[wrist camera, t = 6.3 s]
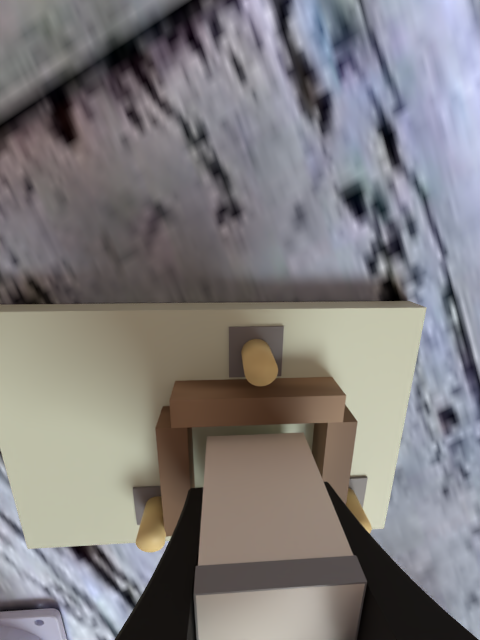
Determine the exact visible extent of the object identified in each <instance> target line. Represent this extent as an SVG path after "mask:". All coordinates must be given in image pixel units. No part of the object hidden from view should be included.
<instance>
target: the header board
mask: <svg viewBox="0 0 480 640" xmlns="http://www.w3.org/2000/svg"><path fill="white" fill-rule="evenodd" d="M425 313H426V307H424V306H421V305H418V304H416V303H413V302H410V301H347V302H234V303H120V304H7V305H0V449H1V453H2V456H3V460H4V464H5V467H6V471H7V475H8V478H9V482H10V486H11V489H12V493H13V497H14V500H15V504H16V508H17V511H18V515H19V519H20V522H21V526H22V529H23V533H24V537H25V540H26V544H27V548H28V549H34V548H51V547H69V546H86V545H104V544H121V543H136V545H137V547H138V548H139V549H141V550H142V551H145V552H155V551H158V550H160V549H161V548H162V547H163V546H164V544H165V541H170V539H171V536H168V537H166V532H165V530H164V520H163V509H162V498H161V486H160V475H159V464H158V453H157V442H156V431H155V428H156V425H157V422H158V419H159V416H160V413H161V410H162V407H163V406H170V404H169V400H170V396H171V393H172V390H173V387H174V383H175V381H185V380H226V379H247V381H248V382H249V383H251V384H252V385H255V386H266V385H269V384H270V383H272V382H273V381H274V380H275V378H307V377H333V379H334V380H335V381H336V383H337V384H338V385H339V387H340V388H341V389H342V390H343V392H344V393H345V394H346V401H345V405H346V406H347V407H348V409H349V410H350V412H351V413H352V414H353V416H354V417H355V419H356V420H357V421H358V423H357V430H356V437H355V445H354V452H353V459H352V466H351V473H350V480H349V487H348V495H347V502H346V506H347V507H348V508H349V510H350V511H351V512H352V513H353V515H354V516H355V517H356V518H357V520H358V521H359V522H360V523H361V524H362V526H363V527H364V528H365V529H366V530H367V531H368V533H369V534H370V532H371V529H384V525H385V520H386V515H387V509H388V504H389V499H390V494H391V489H392V484H393V478H394V473H395V468H396V463H397V458H398V452H399V447H400V442H401V437H402V432H403V427H404V421H405V416H406V411H407V406H408V401H409V396H410V390H411V385H412V380H413V375H414V370H415V364H416V359H417V354H418V349H419V344H420V339H421V333H422V328H423V323H424V318H425ZM313 432H314V423H305V424H276V425H246V426H217V427H192V438H193V458H194V479H195V488H200V487H203V485H204V470H205V456H206V442H207V436H229V435H254V434H279V433H304V435H305V438H306V440H307V443H308V445H309V447H310V450H311V452H312V443H313Z"/></svg>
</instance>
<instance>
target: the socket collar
mask: <svg viewBox="0 0 480 640" xmlns="http://www.w3.org/2000/svg"><path fill="white" fill-rule="evenodd" d="M345 401H346V394H345V393H344V392H343V390H342V389H341V388H340V387H339V385H338V384H337V383H336V381H335V380H334V379H333V377H307V378H275V380H274V381H273V382H272V383H270V384H269V385H266V386H255V385H252V384H251V383H249V382H248V381H247V379H226V380H185V381H175V383H174V387H173V390H172V393H171V396H170V400H169V404H170V406H163V407H162V410H161V413H160V416H159V419H158V422H157V425H156V428H155V431H156V442H157V453H158V464H159V475H160V486H161V498H162V509H163V520H164V530H165V532H166V537H168V536H172V534H173V532H174V529H175V527H176V525H177V522H178V520H179V517H180V515H181V512H182V510H183V507H184V504H185V501H186V498H187V494H188V490H190V489H191V488H195V479H194V458H193V438H192V427H217V426H246V425H276V424H305V423H314V432H313V443H312V455H313V457H314V460H315V462H316V465H317V467H318V470H319V472H320V474H321V477H322V479H323V482H328V483H329V484H330V485H331V486H332V488H333V489H334V490H335V492H336V493H337V494H338V496H339V497H340V498H341V499H342V501H343V502H344V503H345V505H346V502H347V495H348V487H349V480H350V473H351V466H352V459H353V452H354V445H355V437H356V430H357V423H358V421H357V420H356V419H355V417H354V416H353V414H352V413H351V412H350V410H349V409H348V407H347V406H346V405H345Z"/></svg>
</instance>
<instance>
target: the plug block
mask: <svg viewBox="0 0 480 640" xmlns="http://www.w3.org/2000/svg"><path fill="white" fill-rule="evenodd" d="M366 586H367V580H366V578H365V575H364V573H363V571H362V568H361V566H360V563H359V561H358V558H357V556H356V555H355V556H354V555H353V553H352V551H351V548H350V546H349V543H348V541H347V538H346V536H345V533H344V531H343V528H342V526H341V524H340V521H339V519H338V516H337V514H336V511H335V509H334V506H333V504H332V501H331V499H330V497H329V494H328V492H327V489H326V487H325V484H324V482H323V479H322V477H321V474H320V472H319V470H318V467H317V465H316V462H315V460H314V457H313V455H312V452H311V450H310V447H309V445H308V443H307V440H306V438H305V435H304V433H279V434H254V435H229V436H207V442H206V456H205V470H204V485H203V499H202V514H201V528H200V543H199V557H198V566H196V569H195V582H194V609H195V624H196V639H197V640H357V636H358V630H359V625H360V619H361V614H362V608H363V603H364V597H365V592H366Z"/></svg>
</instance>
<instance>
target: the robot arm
mask: <svg viewBox="0 0 480 640" xmlns="http://www.w3.org/2000/svg"><path fill="white" fill-rule="evenodd" d="M324 484H325V487H326V489H327V492H328V494H329V497H330V499H331V501H332V504H333V506H334V509H335V511H336V514H337V516H338V519H339V521H340V524H341V526H342V528H343V531H344V533H345V536H346V538H347V541H348V543H349V546H350V548H351V551H352V553H353V555H354V556H355V555H356V556H357V558H358V561H359V563H360V566H361V568H362V571H363V573H364V575H365V578H366V580H367V586H366V592H365V597H364V603H363V608H362V614H361V619H360V625H359V630H358V636H357V640H478V639H477V638H476V637H475V636H473V635H472V634H471V633H470V632H469V631H468V630H466V629H465V628H464V627H463V626H462V625H461V624H459V623H458V622H457V621H456V620H455V619H454V618H453V617H451V616H450V615H449V614H448V613H447V612H446V611H444V610H443V609H442V608H441V607H440V606H439V605H438V604H437V603H436V602H435V601H434V600H433V599H431V598H430V597H429V596H428V595H427V594H426V593H425V592H424V591H423V590H422V589H421V588H420V587H419V586H418V585H417V584H416V583H415V582H414V581H413V580H412V579H411V578H410V577H409V576H408V575H407V574H406V573H405V572H404V571H403V570H402V569H401V568H400V567H399V566H398V565H397V564H396V563H395V562H394V561H393V560H392V558H391V557H390V556H389V555H388V554H387V553H386V552H385V551H384V550H383V549H382V548H381V546H380V545H379V544H378V543H377V542H376V541H375V540H374V539H373V537H372V536H371V535H370V534H369V533H368V531H367V530H366V529H365V528H364V527H363V526H362V524H361V523H360V522H359V521H358V520H357V518H356V517H355V516H354V515H353V513H352V512H351V511H350V510H349V508H348V507H347V506H346V505H345V503H344V502H343V501H342V499H341V498H340V497H339V496H338V494H337V493H336V492H335V490H334V489H333V488H332V486H331V485H330V484H329V483H328V482H324ZM202 499H203V487H200V488H191V489H190V490H188V494H187V498H186V501H185V504H184V507H183V510H182V512H181V515H180V517H179V520H178V522H177V525H176V527H175V529H174V532H173V534H172V536H171V539H170V541H169V543H168V545H167V547H166V550H165V552H164V554H163V556H162V558H161V560H160V562H159V564H158V566H157V568H156V570H155V572H154V574H153V576H152V577H151V579H150V581H149V583H148V585H147V587H146V588H145V590H144V592H143V594H142V596H141V597H140V599H139V601H138V602H137V604H136V606H135V608H134V609H133V611H132V613H131V614H130V616H129V618H128V619H127V621H126V622H125V624H124V626H123V627H122V629H121V630H120V632H119V634H118V635H117V637H116V638H115V640H197V639H196V624H195V609H194V582H195V569H196V566H198V557H199V543H200V528H201V514H202ZM0 640H67V638H66V634H65V630H64V626H63V622H62V618H61V614H60V612H59V611H58V610H57V609H54V608H47V609H32V610H18V611H3V612H0Z"/></svg>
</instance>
